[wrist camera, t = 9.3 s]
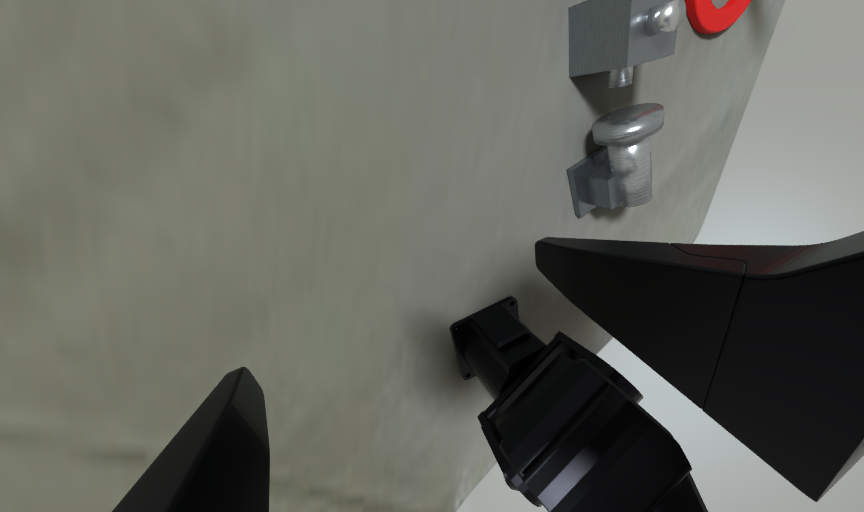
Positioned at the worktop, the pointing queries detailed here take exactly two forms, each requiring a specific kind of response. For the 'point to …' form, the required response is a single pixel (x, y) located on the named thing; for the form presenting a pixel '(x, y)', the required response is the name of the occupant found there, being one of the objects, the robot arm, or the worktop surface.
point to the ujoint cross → (621, 36)
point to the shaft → (617, 160)
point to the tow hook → (714, 14)
